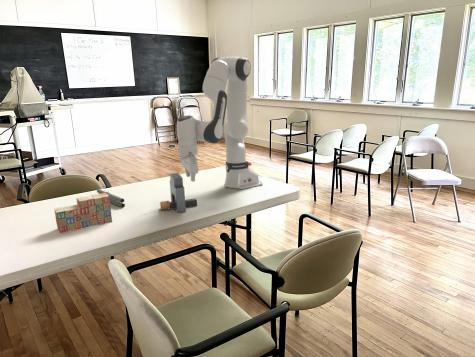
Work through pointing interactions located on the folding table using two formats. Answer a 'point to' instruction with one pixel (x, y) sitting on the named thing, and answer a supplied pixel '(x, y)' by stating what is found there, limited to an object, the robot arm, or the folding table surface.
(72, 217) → the stack of blocks
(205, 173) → the folding table surface
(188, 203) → the plug
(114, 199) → the metal rod assembly
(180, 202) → the grey notched block
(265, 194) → the folding table surface
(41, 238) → the folding table surface
